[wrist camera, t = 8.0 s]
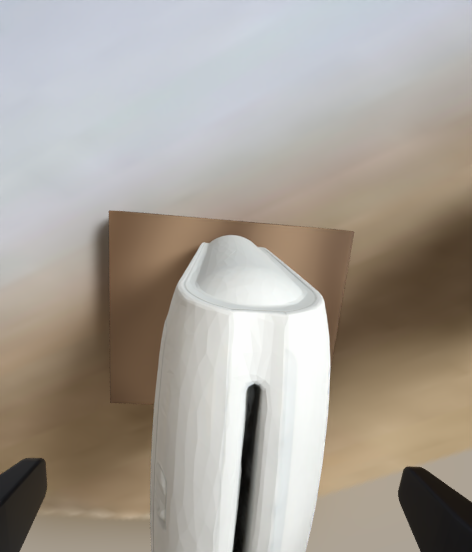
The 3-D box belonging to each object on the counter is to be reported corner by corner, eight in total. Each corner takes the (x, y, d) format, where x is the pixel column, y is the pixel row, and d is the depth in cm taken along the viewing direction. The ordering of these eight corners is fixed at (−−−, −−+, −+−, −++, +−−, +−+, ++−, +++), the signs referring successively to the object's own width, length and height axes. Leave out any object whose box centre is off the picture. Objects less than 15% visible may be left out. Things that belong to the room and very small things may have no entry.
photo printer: (253, 395, 18) (314, 735, 6) (187, 392, 18) (121, 742, 6) (271, 237, 16) (412, 302, 4) (196, 231, 16) (123, 282, 4)
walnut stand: (340, 229, 18) (354, 231, 17) (314, 392, 21) (323, 411, 19) (121, 211, 18) (108, 210, 16) (121, 384, 20) (110, 402, 18)
